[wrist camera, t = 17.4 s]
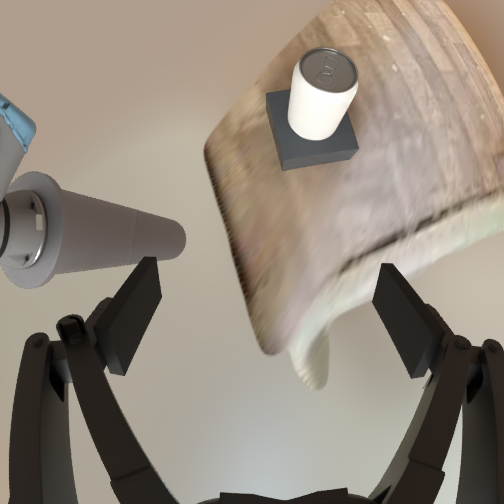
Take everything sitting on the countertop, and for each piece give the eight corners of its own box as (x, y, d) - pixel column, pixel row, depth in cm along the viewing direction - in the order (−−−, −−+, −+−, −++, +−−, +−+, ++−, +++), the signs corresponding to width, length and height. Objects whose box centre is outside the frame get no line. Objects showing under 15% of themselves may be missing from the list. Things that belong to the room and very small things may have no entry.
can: (281, 133, 34) (286, 84, 22) (294, 92, 34) (302, 36, 22) (331, 148, 34) (357, 106, 22) (341, 107, 34) (366, 57, 22)
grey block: (282, 171, 39) (283, 160, 34) (266, 109, 39) (265, 93, 34) (349, 159, 39) (359, 148, 34) (330, 100, 39) (336, 83, 34)
